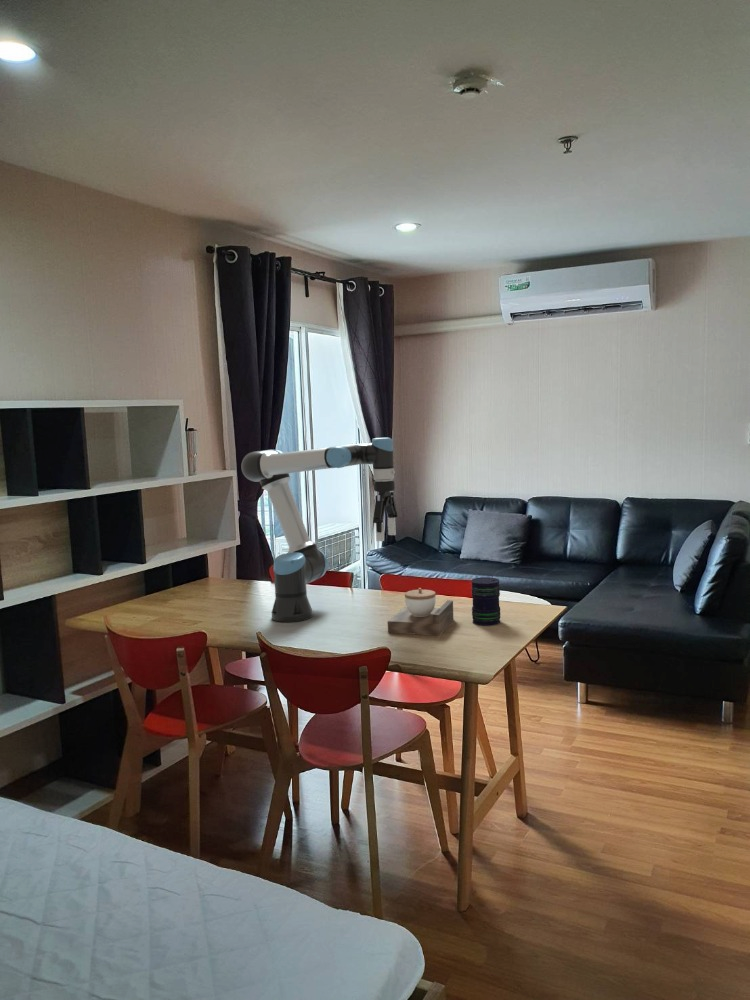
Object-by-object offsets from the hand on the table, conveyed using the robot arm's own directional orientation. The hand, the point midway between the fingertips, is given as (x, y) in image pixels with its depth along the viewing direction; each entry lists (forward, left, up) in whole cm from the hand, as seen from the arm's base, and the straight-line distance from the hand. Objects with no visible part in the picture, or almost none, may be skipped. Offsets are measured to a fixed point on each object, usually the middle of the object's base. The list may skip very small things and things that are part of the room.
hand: (386, 538), depth 282 cm
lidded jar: (+16, -13, -25) cm, 32 cm away
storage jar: (+37, -4, -29) cm, 47 cm away
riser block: (+16, -13, -29) cm, 35 cm away
